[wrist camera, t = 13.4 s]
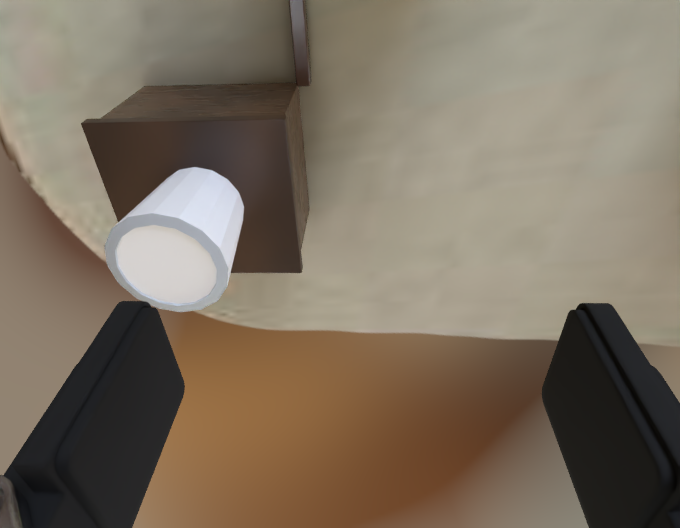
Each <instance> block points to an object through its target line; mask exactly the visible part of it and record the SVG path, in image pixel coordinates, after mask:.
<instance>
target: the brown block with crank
mask: <svg viewBox="0 0 680 528" xmlns="http://www.w3.org/2000/svg"><path fill="white" fill-rule="evenodd" d="M289 7H290V18H291V29H292V40H293V51H294V62H295V73H296V83H258V84H218V85H178V86H144V87H143V88H142V89H140V90H139V91H137V92H136V93H135V94H133V95H132V96H131V97H129V98H128V99H126V100H125V101H124V102H122V103H121V104H120V105H118V106H117V107H116V108H114V109H113V110H111V111H110V112H109V113H107V114H106V115H105V116H103V117H102V118H101V119H87V120H85V121H84V122H82V123H81V125H82V127H83V130H84V133H85V135H86V138H87V141H88V143H89V146H90V149H91V151H92V154H93V156H94V159H95V162H96V164H97V167H98V170H99V172H100V175H101V178H102V180H103V183H104V186H105V188H106V191H107V193H108V196H109V199H110V201H111V204H112V207H113V209H114V212H115V215H116V217H117V220H118V222H120V221H121V220H122V219H123V218H124V217H125V216H126V215H127V214H128V213H129V212H131V211H132V210H133V209H134V208H135V207H136V206H137V205H138V204H139V203H140V202H142V201H143V200H144V199H145V198H146V197H147V196H148V195H149V194H150V193H151V192H153V191H154V190H155V189H156V188H157V187H158V186H159V185H160V184H161V183H162V182H164V181H165V180H166V179H167V178H168V177H170V176H171V175H172V174H174V173H175V172H177V171H178V170H180V169H186V168H192V167H198V168H203V169H208V170H212V171H214V172H216V173H218V174H219V175H221V176H223V177H224V178H226V179H228V180H229V181H230V183H231V184H232V185H233V186H234V187H235V188H236V189H237V191H238V192H239V194H240V197H241V199H242V202H243V205H244V214H243V222H242V226H241V231H240V235H239V239H238V243H237V248H236V252H235V256H234V260H233V265H232V269H231V273H302V268H303V265H302V256H301V248H302V243H303V239H304V234H305V229H306V224H307V219H308V214H309V198H308V187H307V175H306V164H305V152H304V141H303V129H302V118H301V106H300V95H299V86H310V84H311V67H310V53H309V39H308V25H307V11H306V0H289Z"/></svg>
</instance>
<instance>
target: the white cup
mask: <svg viewBox="0 0 680 528" xmlns="http://www.w3.org/2000/svg"><path fill="white" fill-rule="evenodd" d="M243 214H244V205H243V202H242V199H241V197H240V194H239V192H238V191H237V189H236V188H235V187H234V186H233V185H232V184H231V183H230V181H229V180H228V179H226V178H224V177H223V176H221V175H219V174H218V173H216V172H214V171H212V170H208V169H203V168H198V167H192V168H186V169H180V170H178V171H177V172H175V173H174V174H172V175H171V176H170V177H168V178H167V179H166V180H165V181H164V182H162V183H161V184H160V185H159V186H158V187H157V188H156V189H155V190H154V191H153V192H151V193H150V194H149V195H148V196H147V197H146V198H145V199H144V200H143V201H142V202H140V203H139V204H138V205H137V206H136V207H135V208H134V209H133V210H132V211H131V212H129V213H128V214H127V215H126V216H125V217H124V218H123V219H122V220H121V221H120V222H118V223H117V224H116V225H115V226H114V227H113V228H112V229H111V231H110V234H109V236H108V239H107V241H106V243H105V253H106V260H107V266H108V267H109V268H110V270H111V272H112V274H113V275H114V277H115V278H116V280H117V281H118V283H119V284H120V285H121V286H122V287H124V288H125V289H126V290H127V291H128V292H130V293H131V294H132V295H133V296H134V297H135V298H137V299H139V300H141V301H146V302H148V303H149V304H150V305H152V306H154V307H156V308H159V309H165V310H171V311H177V312H185V311H194V310H201V309H203V308H205V307H207V306H209V305H211V304H213V303H214V302H216V301H218V299H219V298H220V297H221V295H222V294H223V292H224V291H225V289H226V288H227V286H228V281H229V277H230V273H231V269H232V265H233V260H234V256H235V252H236V248H237V243H238V239H239V235H240V231H241V226H242V222H243Z"/></svg>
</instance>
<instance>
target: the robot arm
mask: <svg viewBox="0 0 680 528" xmlns="http://www.w3.org/2000/svg"><path fill="white" fill-rule="evenodd" d="M184 387H185V386H184V380H183V378H182V375H181V372H180V369H179V367H178V364H177V361H176V359H175V356H174V353H173V350H172V348H171V345H170V342H169V340H168V337H167V334H166V332H165V329H164V326H163V323H162V321H161V318H160V315H159V313H158V310H157V309H156V308H151V306H150V304H149V303H148V302H146V301H122V302H119V303H118V304H117V306H116V307H115V309H114V310H113V312H112V313H111V315H110V317H109V318H108V319H107V321H106V322H105V324H104V325H103V327H102V328H101V330H100V332H99V333H98V335H97V336H96V338H95V339H94V341H93V342H92V344H91V345H90V347H89V348H88V350H87V351H86V353H85V354H84V356H83V357H82V359H81V360H80V362H79V363H78V364H77V365H76V366H75V368H74V369H73V371H72V372H71V374H70V375H69V377H68V378H67V380H66V381H65V383H64V384H63V386H62V387H61V389H60V390H59V392H58V393H57V395H56V397H55V398H54V400H53V401H52V403H51V404H50V406H49V407H48V409H47V410H46V412H45V413H44V415H43V416H42V418H41V419H40V421H39V422H38V424H37V425H36V427H35V428H34V430H33V431H32V433H31V434H30V436H29V437H28V439H27V441H26V442H25V443H24V445H23V447H22V448H21V450H20V451H19V453H18V454H17V456H16V457H15V459H14V460H13V462H12V464H11V465H10V466H9V468H8V469H7V471H6V473H5V474H4V475H0V528H132V526H133V524H134V521H135V519H136V516H137V514H138V511H139V508H140V506H141V503H142V500H143V498H144V496H145V493H146V491H147V488H148V485H149V482H150V480H151V477H152V475H153V473H154V470H155V467H156V465H157V462H158V459H159V457H160V455H161V452H162V449H163V447H164V444H165V442H166V439H167V437H168V434H169V431H170V429H171V426H172V424H173V421H174V419H175V416H176V414H177V411H178V408H179V406H180V403H181V400H182V398H183V395H184ZM542 399H543V403H544V406H545V409H546V412H547V414H548V417H549V420H550V422H551V425H552V428H553V430H554V433H555V436H556V439H557V441H558V444H559V447H560V450H561V452H562V455H563V458H564V461H565V463H566V466H567V469H568V472H569V474H570V477H571V480H572V483H573V485H574V488H575V491H576V493H577V496H578V499H579V502H580V504H581V507H582V510H583V512H584V515H585V518H586V520H587V523H588V526H589V528H680V403H679V401H678V400H677V398H676V397H675V395H674V394H673V392H672V391H671V389H670V387H669V386H668V384H667V383H666V381H665V380H664V378H663V377H662V375H661V374H660V373H659V372H658V370H657V369H656V368H655V367H653V366H651V365H650V363H649V362H648V360H647V359H646V357H645V355H644V354H643V352H642V351H641V350H640V348H639V346H638V345H637V343H636V341H635V340H634V338H633V337H632V335H631V334H630V332H629V330H628V329H627V327H626V326H625V324H624V323H623V321H622V320H621V318H620V316H619V315H618V313H617V312H616V310H615V309H614V307H613V306H612V305H610V304H608V303H582V304H579V305H578V307H577V308H576V310H571V311H570V312H569V313H568V316H567V319H566V322H565V324H564V327H563V330H562V333H561V336H560V339H559V341H558V344H557V347H556V350H555V353H554V356H553V358H552V362H551V364H550V368H549V370H548V373H547V376H546V378H545V381H544V384H543V387H542Z"/></svg>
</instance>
